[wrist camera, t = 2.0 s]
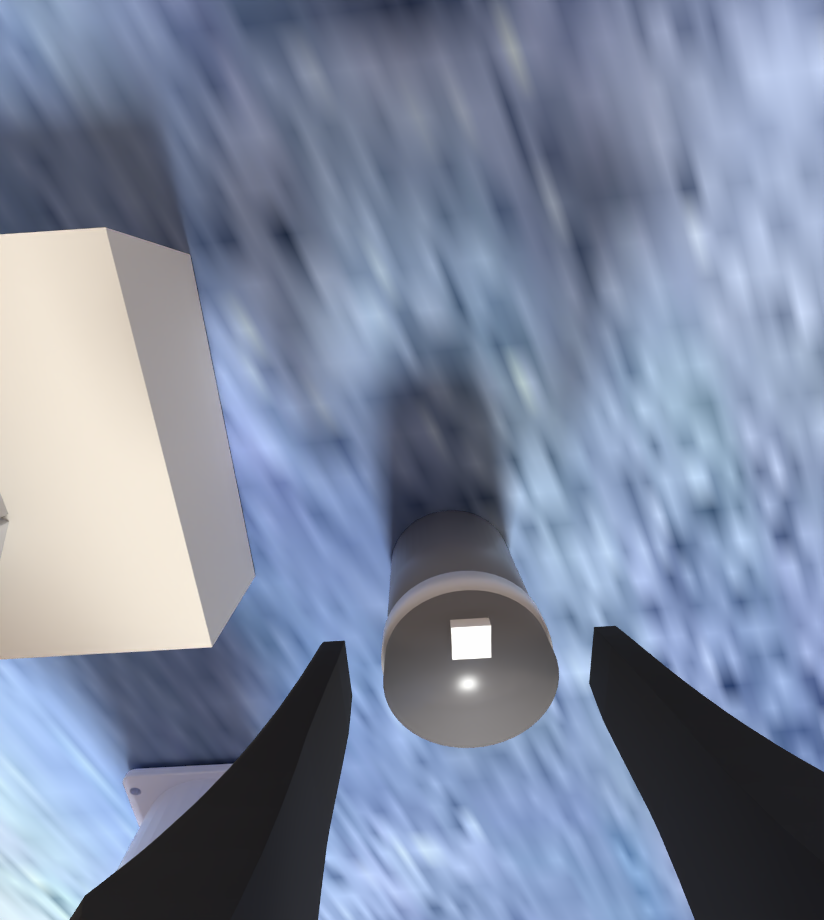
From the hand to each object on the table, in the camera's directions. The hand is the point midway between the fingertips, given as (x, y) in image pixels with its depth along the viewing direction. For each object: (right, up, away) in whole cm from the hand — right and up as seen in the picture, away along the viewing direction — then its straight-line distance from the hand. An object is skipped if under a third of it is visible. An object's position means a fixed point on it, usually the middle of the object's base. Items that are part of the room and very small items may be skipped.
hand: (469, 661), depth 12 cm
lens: (0, +2, +5) cm, 5 cm away
